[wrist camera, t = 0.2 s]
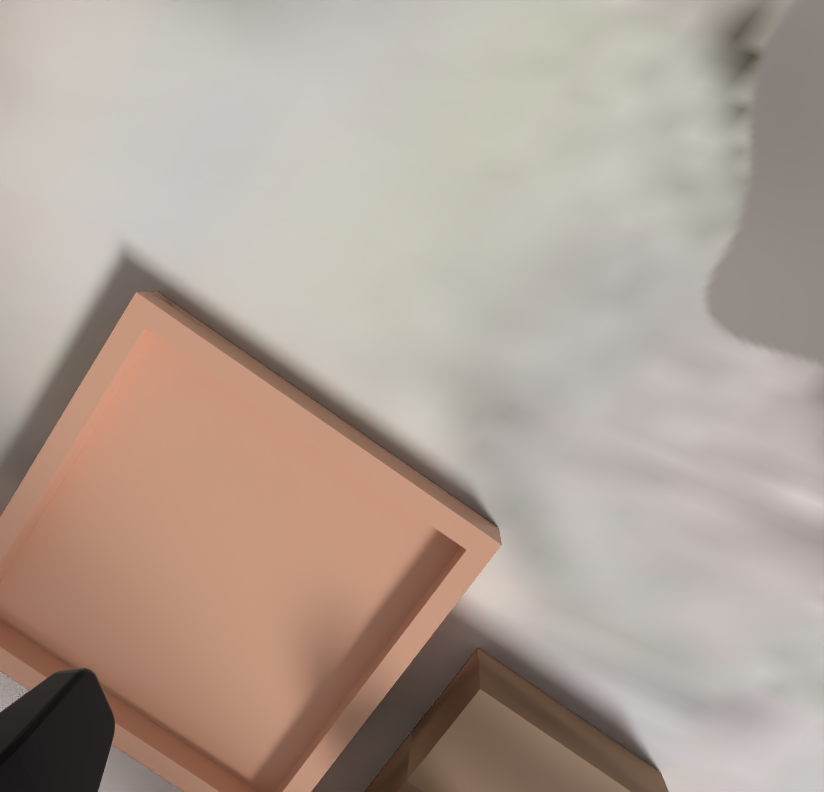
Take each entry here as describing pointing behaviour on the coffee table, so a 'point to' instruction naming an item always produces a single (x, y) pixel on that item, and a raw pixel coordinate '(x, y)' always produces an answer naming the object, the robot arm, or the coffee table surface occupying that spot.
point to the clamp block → (509, 743)
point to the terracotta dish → (224, 560)
